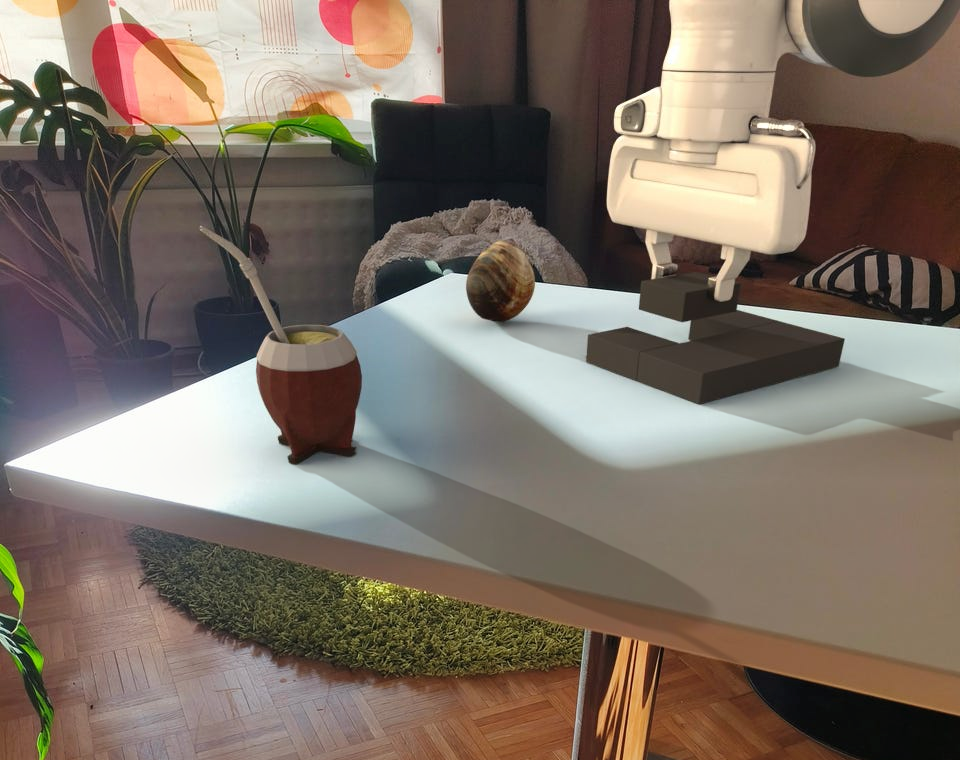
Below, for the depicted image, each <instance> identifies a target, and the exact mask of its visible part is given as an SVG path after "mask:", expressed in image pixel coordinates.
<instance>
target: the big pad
mask: <svg viewBox="0 0 960 760" xmlns="http://www.w3.org/2000/svg"><path fill="white" fill-rule="evenodd" d="M845 340H846V338H844V337H840V336H836V335H833V334H829V333H825V332H821V331H818V330H815V329H810V328H806V327H803V326H799V325H796V324H791V323H788V322H784V321H781V320H776V319H773V318H769V317H765V316H762V315H759V314H755V313H754V314H753V313H750V312H746V311H744V310H739V309H737V311H736V312H731V313H726V314H721V315H716V316H711V317H706V318H701V319H696V320H691V321H690V324H689V332H688V341H684V342H680V343H679V342H677V341H673V340H670V339H667V338H664V337H661V336H657V335H655V334H651V333H649V332H646V331H642V330H639V329H635V328H632V327H629V326H624V327H619V328H618V327H617V328H614V329H609V330H605V331H604V330H603V331H599V332H593V333H589V334H587V341H586V342H587V343H586V344H587V345H586V358H585V363H587V364H590V365H593V366H595V367H598V368H601V369H604V370H606V371H609V372H612V373H614V374H617V375H619V376H622V377H625V378H626V379H627V378H628V379H631V380H633V381H636V382H639V383H641V384H643V385H647V386H649V387H651V388H655V389H657V390H660V391H663V392H666V393H668V394H670V393H671V395H673V396H676V397H678V396H680V397H679V398H681V397H682V398H681V399H683V400H686V399H687V401H689V400H690V401H689V402H691V403H694V404H698V405H701V404H704V403H709V402H713V401H716V400H720V399H723V398H728V397H730V396H731V397H732V396H734V395H737V394H742V393H747V392H749V391H753V390H756V389H761V388H764V387H767V386H771V385H774V384H779V383H783V382H786V381H790V380H793V379H797V378H801V377H805V376H808V375H812V374H815V373H819V372H822V371H826V370H830V369H831V370H832V369H835V368H838V367H839V366H840V362H841V358H842V355H843V349H844V345H845Z"/></svg>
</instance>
